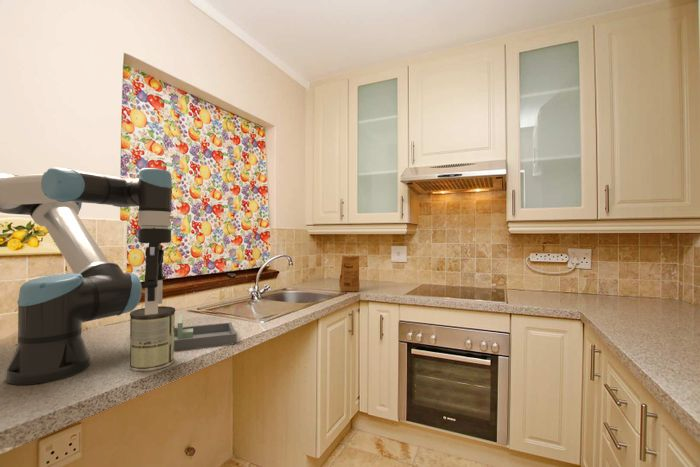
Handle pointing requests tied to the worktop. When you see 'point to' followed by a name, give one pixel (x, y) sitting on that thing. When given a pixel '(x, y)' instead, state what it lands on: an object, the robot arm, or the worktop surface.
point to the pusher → (183, 332)
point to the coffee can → (152, 339)
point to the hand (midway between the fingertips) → (154, 308)
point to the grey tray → (206, 336)
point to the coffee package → (349, 274)
